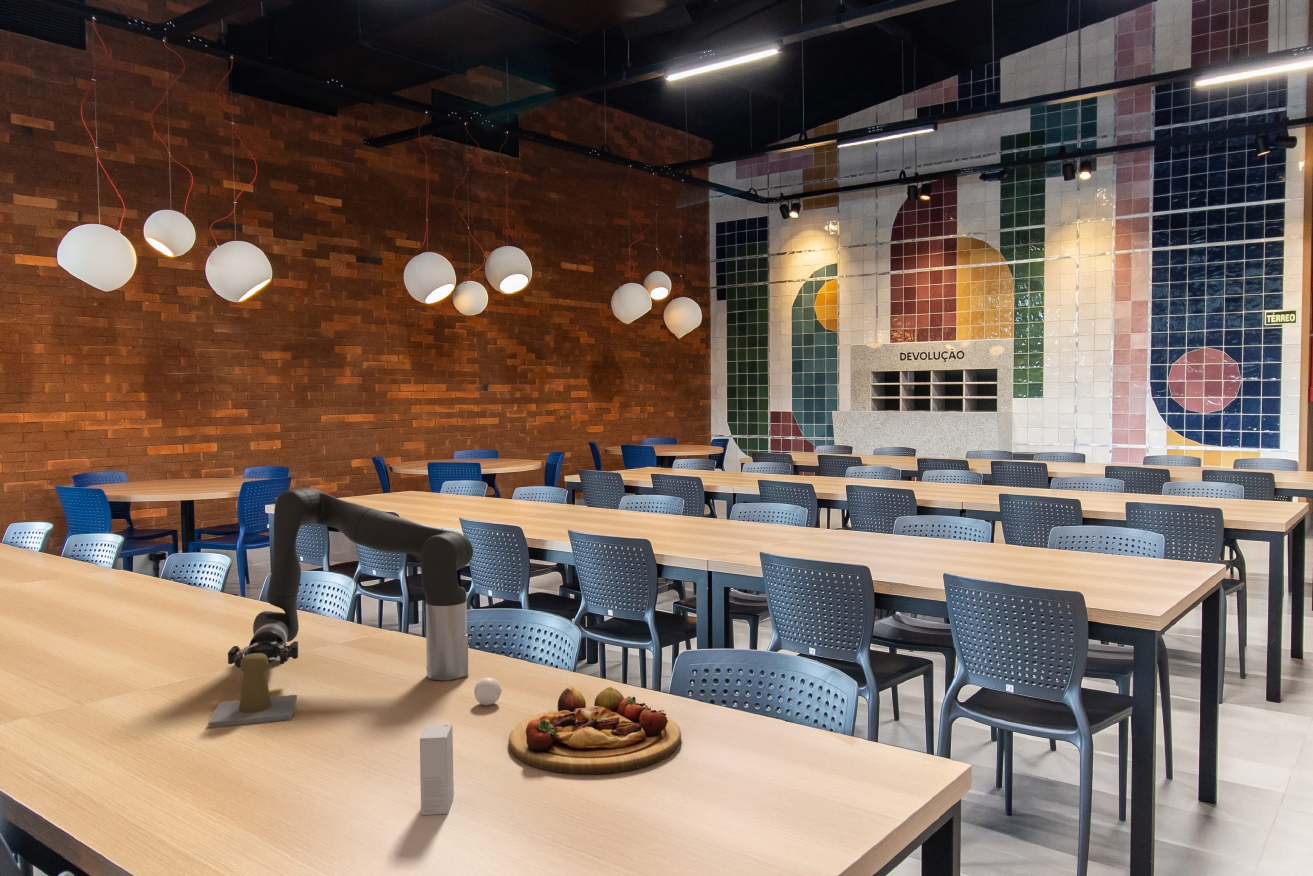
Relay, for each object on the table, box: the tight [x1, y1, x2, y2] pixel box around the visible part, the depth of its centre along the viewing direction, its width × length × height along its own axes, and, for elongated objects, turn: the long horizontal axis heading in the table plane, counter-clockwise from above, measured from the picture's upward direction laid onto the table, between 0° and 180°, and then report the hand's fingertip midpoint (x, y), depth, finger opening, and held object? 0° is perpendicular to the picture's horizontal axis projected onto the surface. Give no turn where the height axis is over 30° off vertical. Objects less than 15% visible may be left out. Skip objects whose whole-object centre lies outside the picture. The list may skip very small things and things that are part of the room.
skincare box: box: [419, 723, 455, 816], centre depth 137 cm, size 6×4×12 cm
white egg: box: [473, 677, 502, 706], centre depth 186 cm, size 8×6×6 cm
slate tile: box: [208, 694, 298, 728], centre depth 180 cm, size 15×13×1 cm
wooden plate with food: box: [508, 686, 682, 775], centre depth 164 cm, size 32×32×8 cm
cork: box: [239, 653, 271, 713], centre depth 180 cm, size 6×6×11 cm
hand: (260, 661), depth 190 cm, fingers open, 8 cm apart
